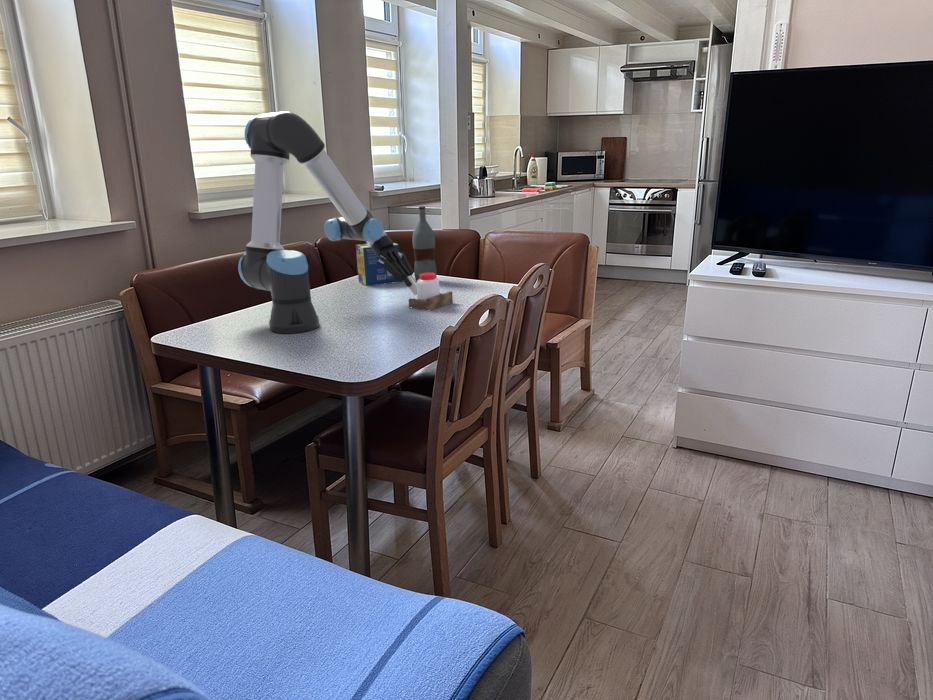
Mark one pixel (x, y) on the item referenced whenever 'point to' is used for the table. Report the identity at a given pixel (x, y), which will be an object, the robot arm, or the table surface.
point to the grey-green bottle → (423, 246)
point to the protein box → (372, 266)
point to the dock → (432, 301)
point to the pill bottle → (427, 286)
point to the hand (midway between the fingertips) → (418, 292)
